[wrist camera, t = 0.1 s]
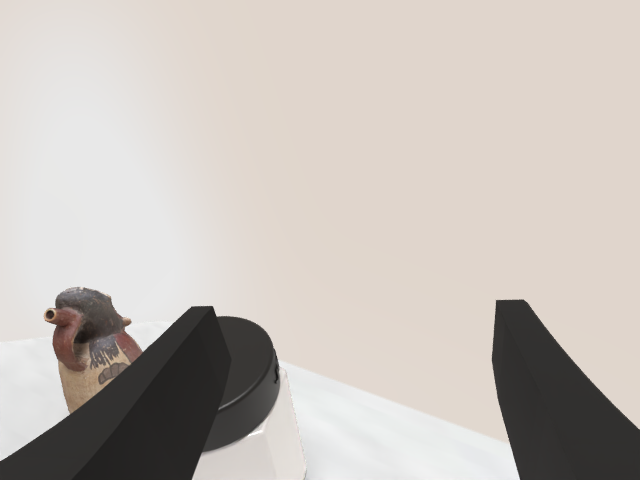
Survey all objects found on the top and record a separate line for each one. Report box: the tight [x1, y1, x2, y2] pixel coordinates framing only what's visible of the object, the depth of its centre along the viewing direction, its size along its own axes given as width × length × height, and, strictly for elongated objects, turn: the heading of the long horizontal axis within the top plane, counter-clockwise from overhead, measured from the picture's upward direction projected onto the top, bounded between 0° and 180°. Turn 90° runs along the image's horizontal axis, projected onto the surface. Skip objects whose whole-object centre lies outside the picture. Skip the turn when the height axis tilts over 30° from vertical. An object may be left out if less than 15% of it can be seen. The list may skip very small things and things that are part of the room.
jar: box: [151, 316, 307, 480], centre depth 29 cm, size 9×8×12 cm
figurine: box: [44, 287, 143, 414], centre depth 38 cm, size 7×7×12 cm
